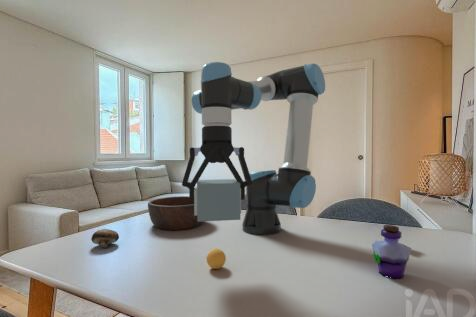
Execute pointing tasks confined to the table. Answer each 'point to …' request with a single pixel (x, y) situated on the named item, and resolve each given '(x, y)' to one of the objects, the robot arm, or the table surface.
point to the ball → (216, 258)
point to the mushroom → (104, 237)
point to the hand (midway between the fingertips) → (217, 213)
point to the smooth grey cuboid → (218, 200)
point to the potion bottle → (391, 253)
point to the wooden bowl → (173, 213)
